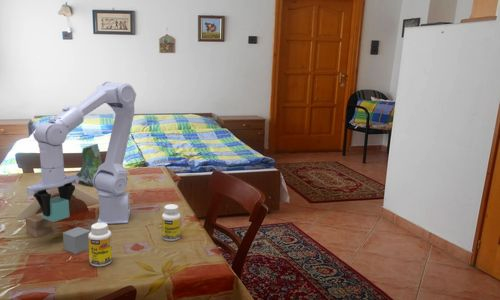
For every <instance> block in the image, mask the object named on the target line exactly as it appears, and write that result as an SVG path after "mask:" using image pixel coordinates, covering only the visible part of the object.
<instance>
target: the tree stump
mask: <svg viewBox="0 0 500 300" xmlns="http://www.w3.org/2000/svg"><path fill="white" fill-rule="evenodd" d="M81 152H82V155H81V156H82V166H81V168H80V171H78V172H77V173H76V174H75V175H76V176H78V177H79V181H81V182H82V183H83V184H85V185H88V186H89V187H94V186H93V177H94V175H95V174H96V173H97V170H98V167H99V166H100V165H101V164H103V163H104V162H103V160H102V153H100V152H101V151H100V147H99V145H98V143H95V144H92V145H88V146H85V147H83V148H82V151H81ZM110 173H112V172H110ZM112 174H113V173H112ZM126 179H127V180H128V177H126Z"/></svg>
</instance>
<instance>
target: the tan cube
mask: <svg viewBox="0 0 500 300" xmlns="http://www.w3.org/2000/svg"><path fill="white" fill-rule="evenodd" d="M52 223H53V222H52V221H49V220H47V219H44V218H43V215H42V212H40V213H36V214H34V215H30V216H27V217H25V229H26V234H27V235H29V236H32V237H33V238H39V237H43V236H45V235H47V234H48V235H49V234H51V233H53V224H52Z"/></svg>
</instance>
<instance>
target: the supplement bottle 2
mask: <svg viewBox="0 0 500 300" xmlns="http://www.w3.org/2000/svg"><path fill="white" fill-rule="evenodd" d="M163 210H164V211H163V213H162V215H161V237H162V239H163V240H165V241H168V242H174V241H177V240H179V239H180V238H181V232H182V231H181V228H182V227H181V226H182V225H181V224H182V223H181V222H182V221H181V220H182V218H181V214H180V213H179V205H177V204H172V203H171V204H170V203H169V204H166V205H165V206H164V207H163Z"/></svg>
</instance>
